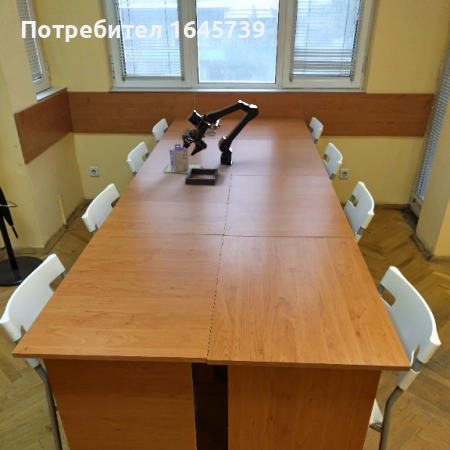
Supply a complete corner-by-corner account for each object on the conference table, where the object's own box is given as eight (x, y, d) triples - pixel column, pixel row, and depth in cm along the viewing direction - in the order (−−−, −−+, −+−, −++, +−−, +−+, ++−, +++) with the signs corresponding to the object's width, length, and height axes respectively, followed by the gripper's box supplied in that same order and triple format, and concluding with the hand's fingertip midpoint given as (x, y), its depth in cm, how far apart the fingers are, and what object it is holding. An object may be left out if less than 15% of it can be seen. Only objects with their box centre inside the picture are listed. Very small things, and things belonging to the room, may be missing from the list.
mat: (201, 166, 275) (201, 165, 275) (197, 173, 263) (197, 172, 263) (168, 165, 277) (168, 164, 276) (164, 172, 265) (164, 171, 265)
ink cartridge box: (185, 167, 271) (184, 142, 263) (189, 169, 267) (188, 145, 259) (170, 169, 267) (168, 145, 259) (174, 172, 263) (172, 147, 255)
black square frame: (218, 174, 262) (218, 168, 260) (214, 185, 247) (214, 179, 245) (190, 173, 263) (190, 167, 261) (185, 184, 249) (185, 178, 247)
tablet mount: (208, 143, 341) (220, 125, 333) (192, 131, 337) (205, 113, 329) (211, 134, 363) (223, 117, 355) (196, 123, 359) (208, 105, 351)
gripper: (183, 120, 265) (168, 142, 265) (202, 125, 253) (187, 149, 253) (194, 131, 273) (180, 153, 274) (213, 137, 261) (199, 160, 262)
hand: (186, 153), depth 265 cm, fingers open, 9 cm apart
